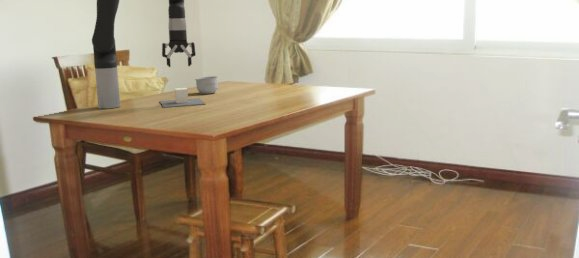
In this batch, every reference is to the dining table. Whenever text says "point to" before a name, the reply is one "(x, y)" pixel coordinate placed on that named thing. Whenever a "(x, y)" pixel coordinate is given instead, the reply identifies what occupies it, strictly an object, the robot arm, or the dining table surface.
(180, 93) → the cream block
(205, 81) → the teacup
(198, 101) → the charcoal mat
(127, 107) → the dining table surface
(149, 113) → the dining table surface
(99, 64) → the robot arm
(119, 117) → the dining table surface
